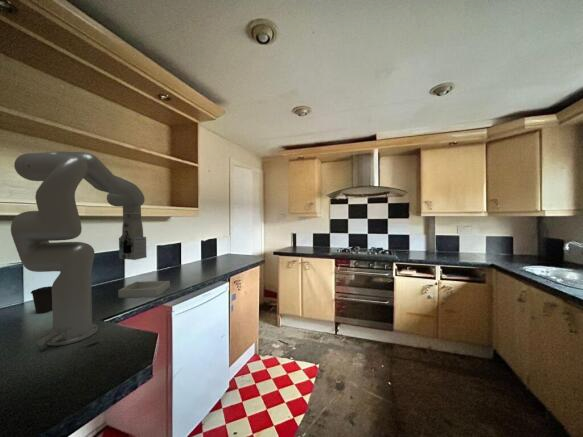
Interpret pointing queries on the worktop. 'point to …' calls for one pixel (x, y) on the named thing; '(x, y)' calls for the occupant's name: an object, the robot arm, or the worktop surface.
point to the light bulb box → (134, 249)
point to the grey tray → (144, 289)
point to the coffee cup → (42, 299)
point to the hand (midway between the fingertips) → (132, 251)
